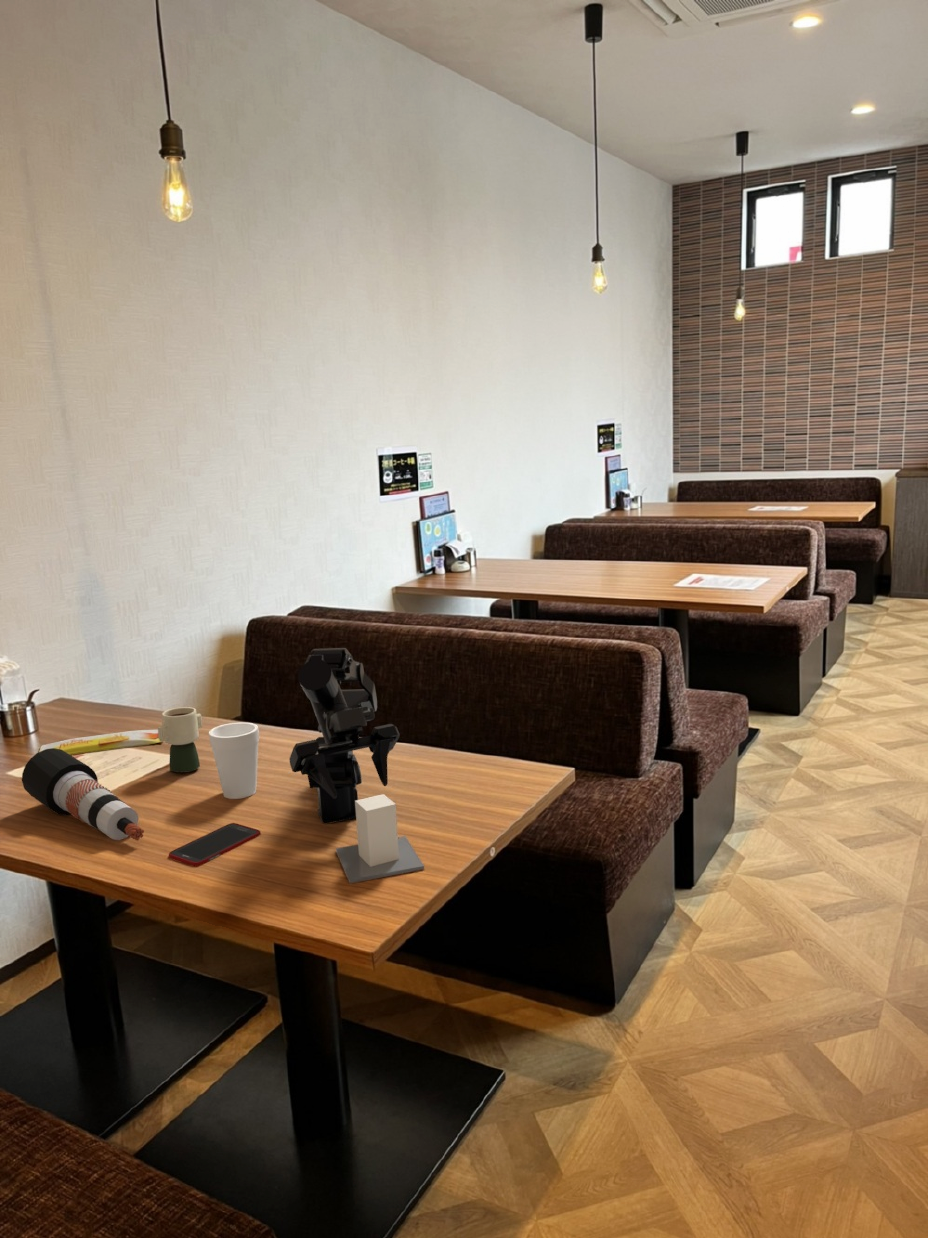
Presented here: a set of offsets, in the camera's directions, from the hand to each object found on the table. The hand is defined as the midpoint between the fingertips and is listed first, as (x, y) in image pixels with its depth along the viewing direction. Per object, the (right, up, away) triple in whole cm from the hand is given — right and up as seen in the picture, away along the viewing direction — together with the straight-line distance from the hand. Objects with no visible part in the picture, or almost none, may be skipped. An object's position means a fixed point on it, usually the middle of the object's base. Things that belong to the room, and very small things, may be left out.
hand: (361, 791), depth 157 cm
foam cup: (-27, -6, +28) cm, 39 cm away
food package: (-67, -1, +61) cm, 90 cm away
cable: (-52, -9, +16) cm, 55 cm away
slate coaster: (+3, -10, -4) cm, 12 cm away
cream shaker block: (+3, -10, -4) cm, 11 cm away
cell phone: (-26, -11, +4) cm, 28 cm away
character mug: (-42, -3, +41) cm, 59 cm away
